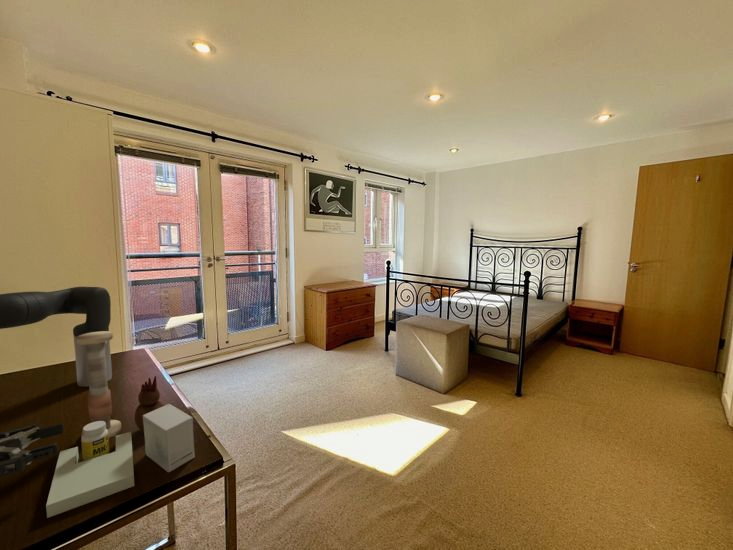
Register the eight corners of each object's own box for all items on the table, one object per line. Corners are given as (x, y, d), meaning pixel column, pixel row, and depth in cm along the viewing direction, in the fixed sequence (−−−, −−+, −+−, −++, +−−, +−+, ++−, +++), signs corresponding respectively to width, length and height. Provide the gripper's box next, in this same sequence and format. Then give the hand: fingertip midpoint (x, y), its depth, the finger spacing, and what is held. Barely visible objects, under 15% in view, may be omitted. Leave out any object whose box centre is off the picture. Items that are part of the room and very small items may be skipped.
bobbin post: (83, 430, 84) (74, 333, 81) (121, 420, 89) (115, 328, 86) (80, 447, 78) (71, 342, 74) (121, 435, 83) (114, 337, 79)
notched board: (61, 461, 73) (60, 451, 72) (131, 440, 81) (131, 431, 80) (47, 517, 59) (46, 505, 58) (134, 485, 67) (133, 474, 66)
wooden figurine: (170, 426, 87) (167, 373, 85) (149, 438, 82) (146, 383, 80) (152, 420, 89) (149, 369, 87) (131, 432, 84) (127, 378, 82)
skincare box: (143, 455, 76) (141, 414, 74) (172, 441, 81) (170, 402, 80) (167, 474, 70) (164, 429, 69) (195, 457, 76) (194, 416, 74)
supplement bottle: (94, 468, 71) (91, 433, 70) (77, 464, 72) (74, 430, 71) (115, 454, 76) (112, 421, 75) (98, 451, 77) (96, 418, 76)
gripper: (-81, 473, 53) (54, 438, 63) (-47, 431, 65) (63, 406, 75) (-75, 513, 54) (57, 472, 64) (-42, 465, 65) (66, 436, 75)
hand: (60, 437), depth 69 cm, fingers open, 8 cm apart
